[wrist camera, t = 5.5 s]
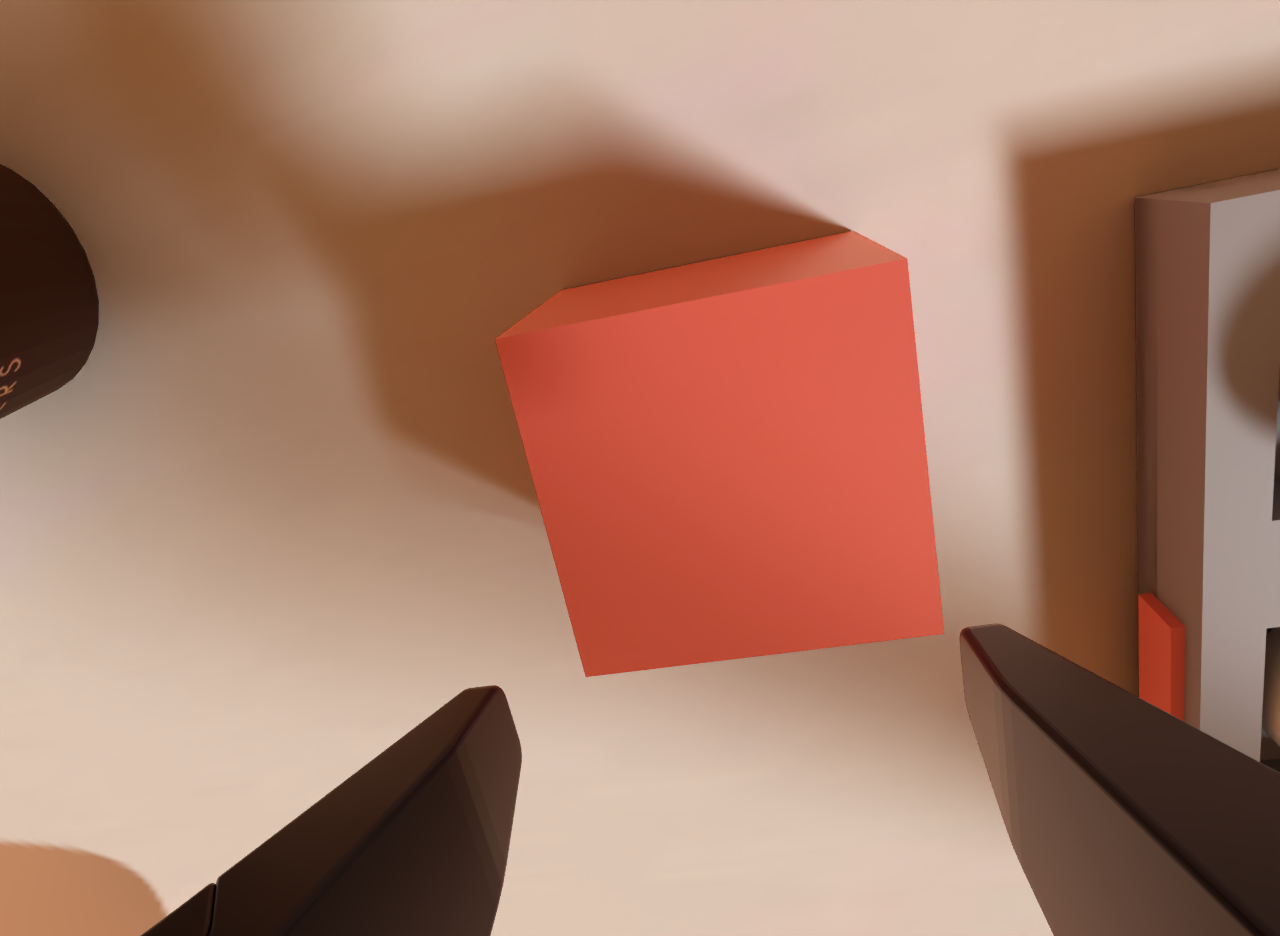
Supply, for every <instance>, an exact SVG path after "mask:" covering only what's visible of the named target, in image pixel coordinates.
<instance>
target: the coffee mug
mask: <svg viewBox="0 0 1280 936" xmlns="http://www.w3.org/2000/svg"><path fill="white" fill-rule="evenodd" d="M97 329H98V296H97V290H96V285H95V280H94V275H93V273H92V270H91V267H90V264H89V262H88V259H87V256H86V253H85V251H84V249H83V247H82V246H81V244H80V242H79V240H78V238H77V237H76V235H75V233H74V231H73V229H72V228H71V226H70V225H69V224H68V222H67V221H66V220H65V218H64V217H63V216H62V214H61V213H60V212H59V211H58V209H57V208H56V207H55V205H54V204H53V203H52V202H51V201H49V200H48V199H47V198H46V197H45V196H44V195H43V194H42V193H41V192H40V191H39V190H38V189H37V188H36V187H35V186H34V185H32V184H31V183H30V182H28V181H27V180H25V179H24V178H23V177H21V176H20V175H18V174H17V173H15V172H14V171H13V170H11V169H9V168H7V167H5V166H3V165H1V164H0V419H1V418H3V417H5V416H7V415H9V414H11V413H12V412H14V411H16V410H18V409H20V408H22V407H24V406H26V405H28V404H30V403H32V402H34V401H36V400H38V399H40V398H42V397H44V396H46V395H48V394H50V393H52V392H54V391H56V390H58V389H59V388H60V387H62V386H63V385H65V384H66V383H67V382H69V381H70V380H72V379H73V378H74V377H75V376H76V374H77V373H78V372H79V371H80V370H81V368H82V367H83V366H84V365H85V363H86V361H87V359H88V357H89V355H90V353H91V351H92V349H93V346H94V343H95V338H96V333H97Z"/></svg>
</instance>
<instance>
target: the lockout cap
mask: <svg viewBox="0 0 1280 936" xmlns="http://www.w3.org/2000/svg"><path fill="white" fill-rule="evenodd" d="M495 342H496V345H497V349H498V353H499V356H500V360H501V364H502V368H503V371H504V375H505V379H506V382H507V386H508V390H509V394H510V397H511V401H512V405H513V408H514V412H515V416H516V420H517V423H518V427H519V431H520V435H521V438H522V442H523V446H524V449H525V453H526V457H527V461H528V464H529V468H530V472H531V475H532V479H533V483H534V487H535V490H536V494H537V498H538V501H539V505H540V509H541V513H542V516H543V520H544V524H545V527H546V531H547V535H548V539H549V542H550V546H551V550H552V553H553V557H554V561H555V565H556V568H557V572H558V576H559V580H560V583H561V587H562V591H563V594H564V598H565V602H566V606H567V609H568V613H569V617H570V620H571V624H572V628H573V632H574V635H575V639H576V643H577V646H578V650H579V654H580V658H581V661H582V665H583V669H584V672H585V676H586V677H589V676H597V675H606V674H614V673H622V672H630V671H639V670H647V669H655V668H664V667H672V666H680V665H688V664H697V663H705V662H713V661H722V660H730V659H738V658H746V657H755V656H763V655H771V654H780V653H788V652H796V651H804V650H813V649H821V648H829V647H838V646H846V645H854V644H862V643H871V642H879V641H887V640H896V639H904V638H912V637H920V636H929V635H937V634H944V628H943V618H942V607H941V597H940V587H939V577H938V567H937V557H936V547H935V536H934V526H933V516H932V506H931V496H930V486H929V476H928V465H927V455H926V445H925V435H924V425H923V415H922V404H921V394H920V384H919V374H918V364H917V354H916V344H915V333H914V323H913V313H912V303H911V293H910V283H909V272H908V262H907V258H905V257H903V256H901V255H899V254H897V253H895V252H893V251H892V250H890V249H888V248H886V247H884V246H882V245H880V244H878V243H876V242H874V241H872V240H870V239H868V238H866V237H864V236H862V235H860V234H858V233H857V232H855V231H850V232H845V233H840V234H835V235H830V236H825V237H821V238H816V239H811V240H806V241H801V242H796V243H791V244H786V245H781V246H776V247H771V248H766V249H762V250H757V251H752V252H747V253H742V254H737V255H732V256H727V257H722V258H717V259H712V260H707V261H703V262H698V263H693V264H688V265H683V266H678V267H673V268H668V269H663V270H658V271H653V272H648V273H644V274H639V275H634V276H629V277H624V278H619V279H614V280H609V281H604V282H599V283H594V284H589V285H584V286H580V287H575V288H570V289H565V290H561V291H559V292H558V293H557V294H555V295H554V296H553V297H551V298H550V299H548V300H547V301H546V302H544V303H543V304H542V305H540V306H539V307H538V308H536V309H535V310H534V311H532V312H531V313H530V314H528V315H527V316H526V317H524V318H523V319H521V320H520V321H519V322H517V323H516V324H515V325H513V326H512V327H511V328H509V329H508V330H507V331H505V332H504V333H503V334H501V335H500V336H498V337H497V338H496V339H495Z"/></svg>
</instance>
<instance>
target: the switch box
mask: <svg viewBox="0 0 1280 936" xmlns="http://www.w3.org/2000/svg"><path fill="white" fill-rule="evenodd" d="M1135 289H1136V402H1137V514H1138V626H1139V698H1141V699H1143V700H1144V701H1146V702H1148V703H1150V704H1152V705H1154V706H1156V707H1158V708H1159V709H1161V710H1163V711H1165V712H1167V713H1169V714H1171V715H1173V716H1174V717H1176V718H1178V719H1180V720H1182V721H1184V722H1186V723H1187V724H1189V725H1191V726H1193V727H1195V728H1197V729H1199V730H1201V731H1202V732H1204V733H1206V734H1208V735H1210V736H1212V737H1214V738H1215V739H1217V740H1219V741H1221V742H1223V743H1225V744H1227V745H1229V746H1230V747H1232V748H1234V749H1236V750H1238V751H1240V752H1242V753H1244V754H1245V755H1247V756H1249V757H1251V758H1253V759H1255V760H1257V761H1258V762H1260V763H1262V764H1264V765H1266V766H1268V767H1270V768H1272V769H1273V770H1275V771H1277V772H1279V773H1280V747H1279V746H1278V745H1277V744H1276V742H1275V741H1274V740H1273V739H1272V738H1271V737H1270V736H1269V735H1268V734H1267V733H1266V732H1265V731H1264V730H1263V729H1262V709H1263V689H1264V669H1265V649H1266V635H1267V634H1268V633H1269V632H1270V631H1271V630H1272V629H1273V628H1274V627H1280V169H1275V170H1270V171H1265V172H1260V173H1255V174H1250V175H1245V176H1240V177H1235V178H1230V179H1225V180H1220V181H1215V182H1210V183H1205V184H1200V185H1195V186H1190V187H1185V188H1180V189H1175V190H1170V191H1165V192H1160V193H1155V194H1150V195H1145V196H1140V197H1135Z"/></svg>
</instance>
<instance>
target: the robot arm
mask: <svg viewBox="0 0 1280 936" xmlns="http://www.w3.org/2000/svg"><path fill="white" fill-rule="evenodd" d="M960 651H961V661H962V672H963V683H964V693H965V700H966V705H967V709H968V713H969V717H970V720H971V723H972V726H973V729H974V732H975V735H976V738H977V741H978V744H979V747H980V750H981V753H982V756H983V759H984V762H985V765H986V769H987V772H988V775H989V778H990V781H991V784H992V787H993V790H994V793H995V796H996V799H997V802H998V805H999V808H1000V811H1001V814H1002V817H1003V820H1004V823H1005V826H1006V829H1007V832H1008V834H1009V837H1010V840H1011V843H1012V845H1013V848H1014V850H1015V852H1016V855H1017V857H1018V859H1019V862H1020V864H1021V866H1022V869H1023V871H1024V873H1025V875H1026V877H1027V879H1028V881H1029V884H1030V886H1031V888H1032V890H1033V892H1034V894H1035V896H1036V899H1037V901H1038V903H1039V905H1040V907H1041V909H1042V911H1043V913H1044V916H1045V918H1046V920H1047V922H1048V924H1049V926H1050V928H1051V931H1052V933H1053V935H1054V936H1280V773H1279V772H1277V771H1275V770H1273V769H1272V768H1270V767H1268V766H1266V765H1264V764H1262V763H1260V762H1258V761H1257V760H1255V759H1253V758H1251V757H1249V756H1247V755H1245V754H1244V753H1242V752H1240V751H1238V750H1236V749H1234V748H1232V747H1230V746H1229V745H1227V744H1225V743H1223V742H1221V741H1219V740H1217V739H1215V738H1214V737H1212V736H1210V735H1208V734H1206V733H1204V732H1202V731H1201V730H1199V729H1197V728H1195V727H1193V726H1191V725H1189V724H1187V723H1186V722H1184V721H1182V720H1180V719H1178V718H1176V717H1174V716H1173V715H1171V714H1169V713H1167V712H1165V711H1163V710H1161V709H1159V708H1158V707H1156V706H1154V705H1152V704H1150V703H1148V702H1146V701H1144V700H1143V699H1141V698H1139V697H1137V696H1135V695H1133V694H1131V693H1130V692H1128V691H1126V690H1124V689H1122V688H1120V687H1118V686H1116V685H1115V684H1113V683H1111V682H1109V681H1107V680H1105V679H1103V678H1102V677H1100V676H1098V675H1096V674H1094V673H1092V672H1090V671H1088V670H1087V669H1085V668H1083V667H1081V666H1079V665H1077V664H1075V663H1073V662H1072V661H1070V660H1068V659H1066V658H1064V657H1062V656H1060V655H1059V654H1057V653H1055V652H1053V651H1051V650H1049V649H1047V648H1045V647H1044V646H1042V645H1040V644H1038V643H1036V642H1034V641H1032V640H1031V639H1029V638H1027V637H1025V636H1023V635H1021V634H1019V633H1017V632H1016V631H1014V630H1012V629H1010V628H1008V627H1006V626H1004V625H1002V624H989V625H981V626H973V627H967V628H964V629H963V630H962V631H961V634H960ZM521 762H522V752H521V745H520V740H519V737H518V734H517V731H516V727H515V724H514V721H513V718H512V715H511V711H510V708H509V705H508V702H507V699H506V696H505V694H504V692H503V690H502V689H501V688H500V687H498V686H495V685H492V686H484V687H476V688H469V689H466V690H464V691H462V692H461V693H460V694H458V695H457V696H456V697H454V698H453V699H452V700H450V701H449V702H448V703H447V704H445V705H444V706H443V707H441V708H440V709H439V710H437V711H436V712H435V713H433V714H432V715H431V716H429V717H428V718H427V719H426V720H424V721H423V722H422V723H420V724H419V725H418V726H416V727H415V728H414V729H412V730H411V731H410V732H408V733H407V734H406V735H405V736H403V737H402V738H401V739H399V740H398V741H397V742H395V743H394V744H393V745H391V746H390V747H389V748H387V749H386V750H385V751H384V752H382V753H381V754H380V755H378V756H377V757H376V758H374V759H373V760H372V761H370V762H369V763H368V764H366V765H365V766H364V767H363V768H361V769H360V770H359V771H357V772H356V773H355V774H353V775H352V776H351V777H349V778H348V779H347V780H346V781H344V782H343V783H342V784H340V785H339V786H338V787H336V788H335V789H334V790H332V791H331V792H330V793H328V794H327V795H326V796H325V797H323V798H322V799H321V800H319V801H318V802H317V803H315V804H314V805H313V806H311V807H310V808H309V809H307V810H306V811H305V812H304V813H302V814H301V815H300V816H298V817H297V818H296V819H294V820H293V821H292V822H290V823H289V824H288V825H286V826H285V827H284V828H283V829H281V830H280V831H279V832H277V833H276V834H275V835H273V836H272V837H271V838H269V839H268V840H267V841H265V842H264V843H263V844H262V845H260V846H259V847H258V848H256V849H255V850H254V851H252V852H251V853H250V854H248V855H247V856H246V857H244V858H243V859H242V860H241V861H239V862H238V863H237V864H235V865H234V866H233V867H231V868H230V869H229V870H227V871H226V872H225V873H223V874H222V875H221V876H220V877H218V879H217V882H216V884H214V883H211V884H209V885H207V886H206V887H205V888H203V889H202V890H201V891H200V892H198V893H197V894H196V895H194V896H193V897H192V898H190V899H189V900H188V901H187V902H185V903H184V904H183V905H181V906H180V907H179V908H177V909H176V910H175V911H173V912H172V913H171V914H169V915H168V916H167V917H165V918H164V919H163V920H161V921H160V922H158V923H157V924H156V925H155V926H153V927H152V928H150V929H149V930H148V931H146V932H145V933H144V934H143V935H141V936H490V935H491V931H492V927H493V924H494V920H495V916H496V912H497V908H498V904H499V900H500V896H501V891H502V887H503V882H504V876H505V870H506V865H507V858H508V851H509V844H510V838H511V831H512V824H513V817H514V811H515V804H516V797H517V790H518V784H519V777H520V770H521Z"/></svg>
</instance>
